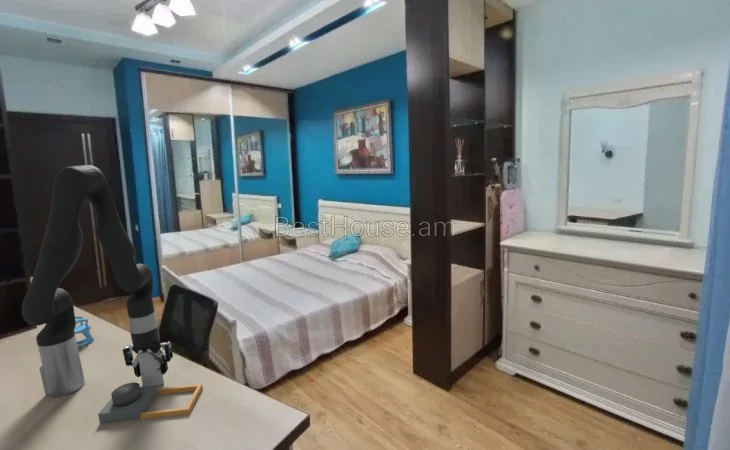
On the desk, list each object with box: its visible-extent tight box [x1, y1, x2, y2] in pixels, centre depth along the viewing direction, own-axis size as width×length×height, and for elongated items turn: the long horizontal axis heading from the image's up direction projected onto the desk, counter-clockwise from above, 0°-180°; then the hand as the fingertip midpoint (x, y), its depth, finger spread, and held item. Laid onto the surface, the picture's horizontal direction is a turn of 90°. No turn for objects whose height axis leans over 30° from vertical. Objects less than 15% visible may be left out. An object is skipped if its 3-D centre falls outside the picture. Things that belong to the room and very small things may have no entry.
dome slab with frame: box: [97, 382, 203, 424], centre depth 108 cm, size 24×12×6 cm, turn 97°
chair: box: [74, 315, 95, 350], centre depth 147 cm, size 8×8×12 cm
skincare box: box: [138, 350, 165, 387], centre depth 118 cm, size 6×4×12 cm
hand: (152, 374), depth 118 cm, fingers closed on skincare box, 7 cm apart
